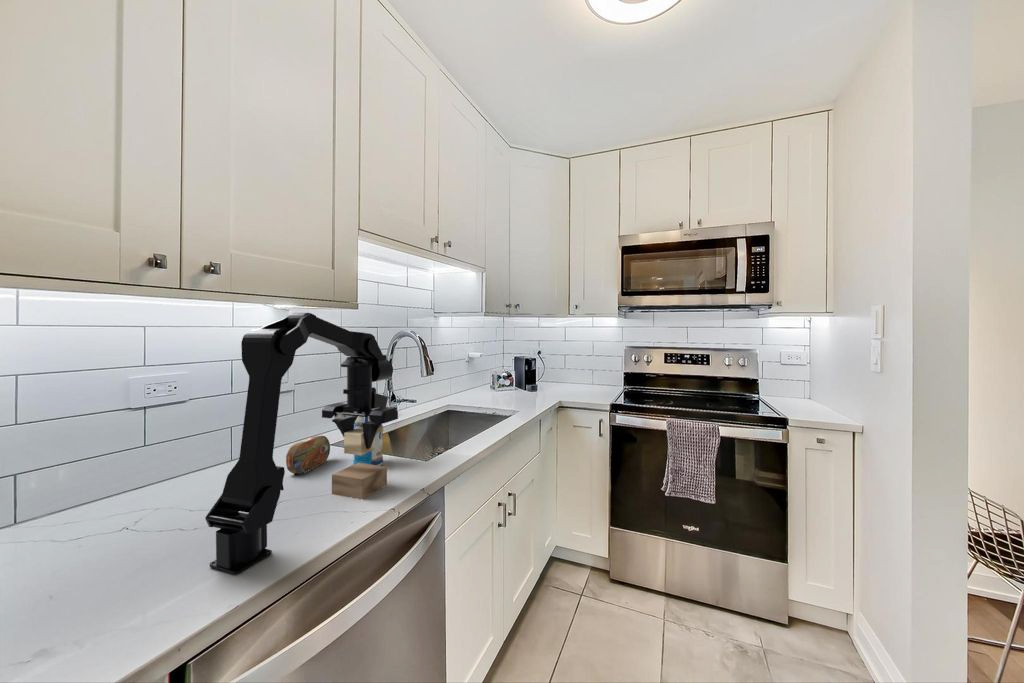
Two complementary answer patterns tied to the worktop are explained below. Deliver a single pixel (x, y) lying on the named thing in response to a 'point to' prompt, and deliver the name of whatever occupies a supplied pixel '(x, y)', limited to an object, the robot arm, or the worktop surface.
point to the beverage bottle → (377, 454)
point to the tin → (307, 454)
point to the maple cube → (356, 442)
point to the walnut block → (359, 480)
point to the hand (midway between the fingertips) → (359, 447)
